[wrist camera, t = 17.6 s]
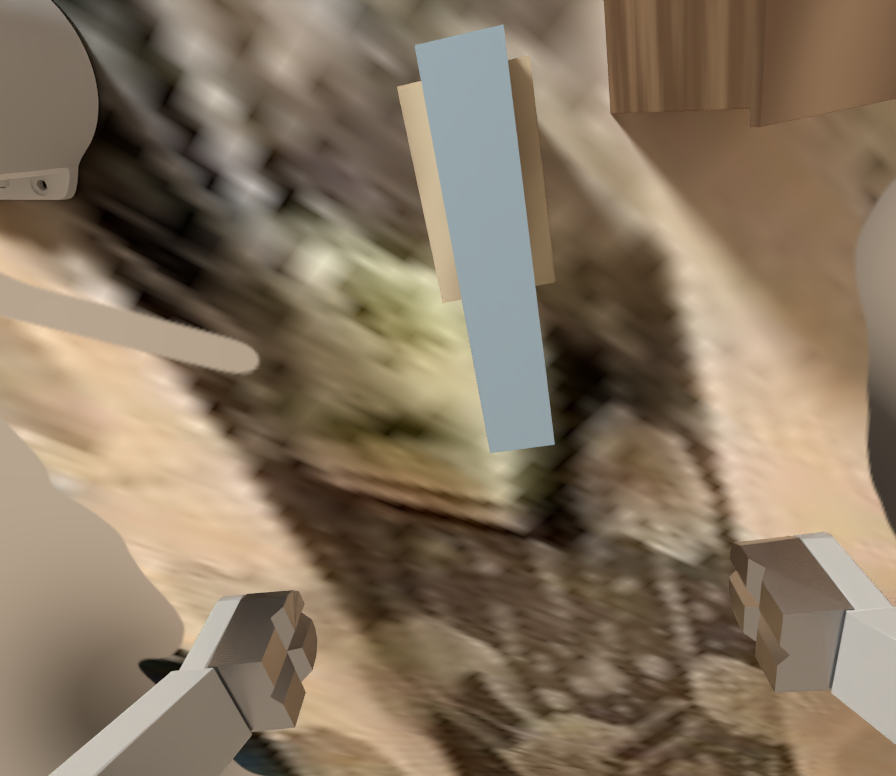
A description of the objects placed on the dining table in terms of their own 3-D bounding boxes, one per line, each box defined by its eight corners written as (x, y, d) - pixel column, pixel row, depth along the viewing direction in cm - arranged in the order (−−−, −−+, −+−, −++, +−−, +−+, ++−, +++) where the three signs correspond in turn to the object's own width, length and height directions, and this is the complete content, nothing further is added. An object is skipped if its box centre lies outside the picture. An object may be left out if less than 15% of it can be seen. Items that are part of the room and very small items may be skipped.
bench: (453, 250, 47) (442, 302, 33) (423, 96, 42) (397, 86, 28) (533, 234, 46) (555, 282, 32) (513, 76, 41) (529, 55, 27)
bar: (489, 420, 37) (490, 452, 33) (422, 54, 28) (414, 45, 24) (547, 412, 37) (554, 444, 33) (500, 36, 27) (503, 24, 23)
